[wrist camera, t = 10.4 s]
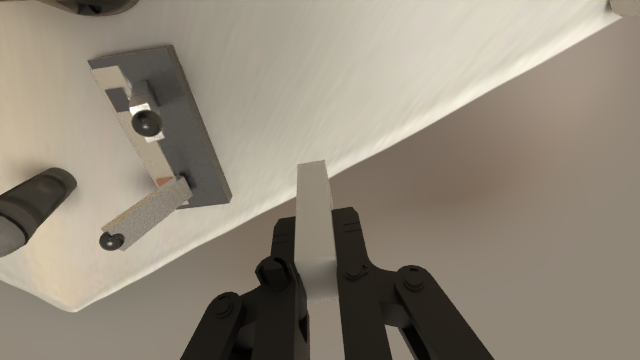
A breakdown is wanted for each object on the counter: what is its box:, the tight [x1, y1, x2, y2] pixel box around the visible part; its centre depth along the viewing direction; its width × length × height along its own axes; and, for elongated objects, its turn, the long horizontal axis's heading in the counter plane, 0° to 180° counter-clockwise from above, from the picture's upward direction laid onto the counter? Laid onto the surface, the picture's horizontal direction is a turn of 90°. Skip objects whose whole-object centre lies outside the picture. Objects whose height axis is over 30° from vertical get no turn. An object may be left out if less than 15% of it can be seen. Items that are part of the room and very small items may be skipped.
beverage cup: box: [0, 168, 77, 257], centre depth 38 cm, size 7×7×20 cm
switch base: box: [88, 45, 232, 210], centre depth 41 cm, size 10×24×3 cm, turn 8°
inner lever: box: [129, 81, 165, 143], centre depth 31 cm, size 3×4×13 cm
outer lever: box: [99, 175, 193, 251], centre depth 39 cm, size 3×4×13 cm
